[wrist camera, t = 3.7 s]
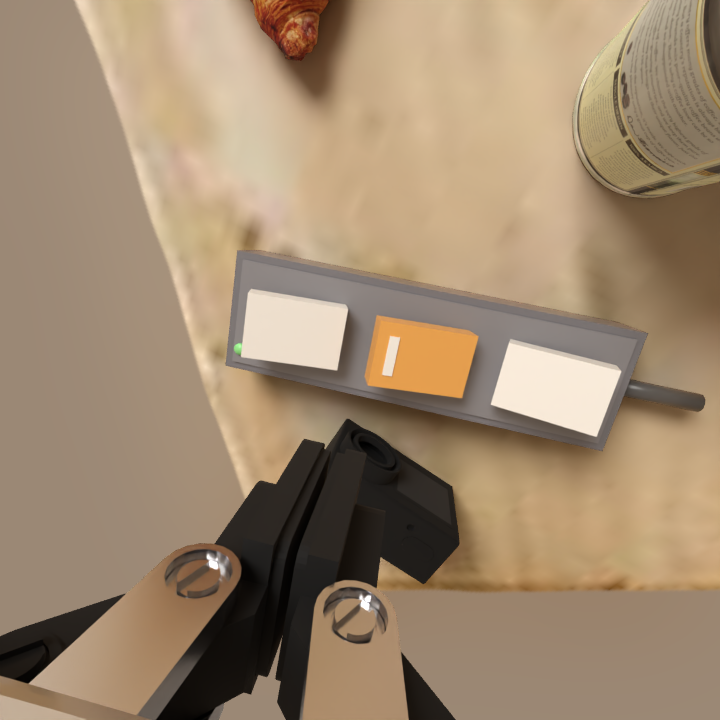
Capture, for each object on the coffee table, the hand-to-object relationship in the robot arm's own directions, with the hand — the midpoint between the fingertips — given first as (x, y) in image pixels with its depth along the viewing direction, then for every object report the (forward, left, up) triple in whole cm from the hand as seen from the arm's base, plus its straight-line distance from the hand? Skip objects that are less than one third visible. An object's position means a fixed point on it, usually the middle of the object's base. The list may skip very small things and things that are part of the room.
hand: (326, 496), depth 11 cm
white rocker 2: (-10, 0, -16) cm, 19 cm away
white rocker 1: (+6, 0, -16) cm, 17 cm away
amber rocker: (-2, 0, -16) cm, 16 cm away
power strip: (-5, 0, -22) cm, 22 cm away
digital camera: (-2, +11, -22) cm, 25 cm away
